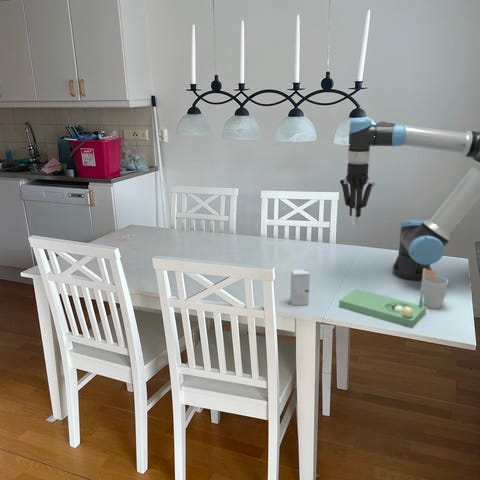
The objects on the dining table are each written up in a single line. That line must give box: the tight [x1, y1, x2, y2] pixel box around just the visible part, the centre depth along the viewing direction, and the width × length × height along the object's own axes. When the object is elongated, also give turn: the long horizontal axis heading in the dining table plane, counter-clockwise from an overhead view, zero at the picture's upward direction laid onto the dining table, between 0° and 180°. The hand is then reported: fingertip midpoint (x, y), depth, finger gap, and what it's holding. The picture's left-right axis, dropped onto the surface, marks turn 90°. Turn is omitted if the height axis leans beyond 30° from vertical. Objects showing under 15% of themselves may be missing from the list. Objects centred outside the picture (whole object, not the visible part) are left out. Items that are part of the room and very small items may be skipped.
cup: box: [422, 275, 449, 310], centre depth 170 cm, size 8×8×10 cm
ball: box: [394, 305, 403, 311], centre depth 165 cm, size 3×3×3 cm
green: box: [338, 288, 427, 328], centre depth 169 cm, size 26×13×2 cm, turn 51°
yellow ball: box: [402, 306, 413, 317], centre depth 158 cm, size 3×3×3 cm
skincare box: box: [289, 269, 311, 306], centre depth 174 cm, size 6×4×12 cm
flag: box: [418, 268, 436, 308], centre depth 162 cm, size 1×4×14 cm, turn 52°
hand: (354, 224), depth 184 cm, fingers closed
